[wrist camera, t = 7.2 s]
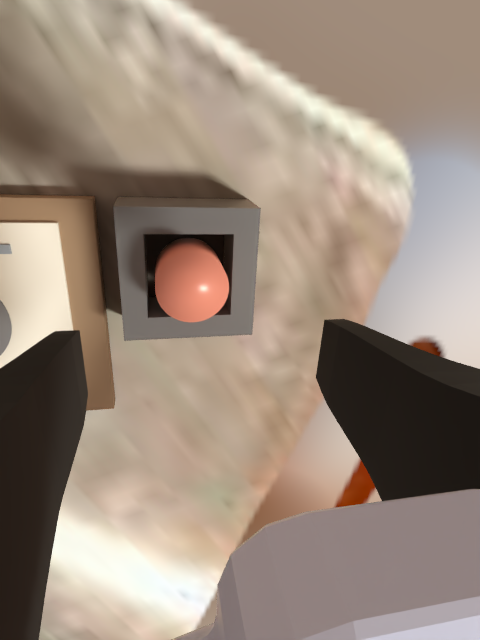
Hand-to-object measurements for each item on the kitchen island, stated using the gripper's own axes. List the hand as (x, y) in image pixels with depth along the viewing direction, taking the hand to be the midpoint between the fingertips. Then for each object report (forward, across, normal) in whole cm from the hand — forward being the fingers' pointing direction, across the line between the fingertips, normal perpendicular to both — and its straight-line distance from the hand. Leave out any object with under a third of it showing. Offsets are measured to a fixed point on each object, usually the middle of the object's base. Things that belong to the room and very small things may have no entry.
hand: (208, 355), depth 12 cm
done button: (+8, 0, 0) cm, 8 cm away
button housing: (+9, 0, 0) cm, 9 cm away
